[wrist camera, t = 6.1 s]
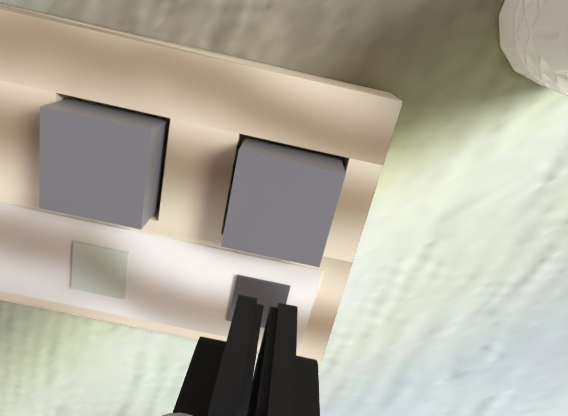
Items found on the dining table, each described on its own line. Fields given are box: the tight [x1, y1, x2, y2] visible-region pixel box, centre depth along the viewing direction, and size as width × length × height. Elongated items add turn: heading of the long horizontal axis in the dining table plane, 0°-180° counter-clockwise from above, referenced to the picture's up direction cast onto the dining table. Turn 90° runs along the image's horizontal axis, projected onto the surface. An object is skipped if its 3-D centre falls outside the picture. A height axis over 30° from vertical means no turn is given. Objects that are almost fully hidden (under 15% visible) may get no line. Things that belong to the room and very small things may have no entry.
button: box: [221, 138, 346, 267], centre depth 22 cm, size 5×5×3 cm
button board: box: [0, 3, 403, 365], centre depth 24 cm, size 16×27×4 cm, turn 78°
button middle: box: [39, 98, 168, 230], centre depth 22 cm, size 5×5×3 cm
